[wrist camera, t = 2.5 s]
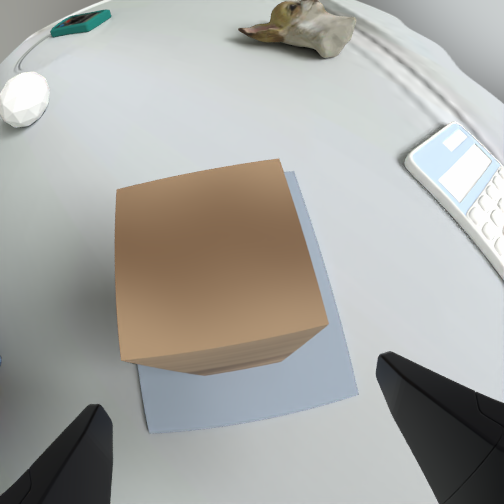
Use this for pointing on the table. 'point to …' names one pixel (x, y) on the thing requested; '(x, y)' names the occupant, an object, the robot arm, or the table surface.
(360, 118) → the table surface
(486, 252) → the calculator
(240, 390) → the desk pad
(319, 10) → the ceramic sculpture
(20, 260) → the table surface
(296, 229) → the walnut block
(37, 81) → the geometric ball
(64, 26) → the digital multimeter
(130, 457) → the table surface
